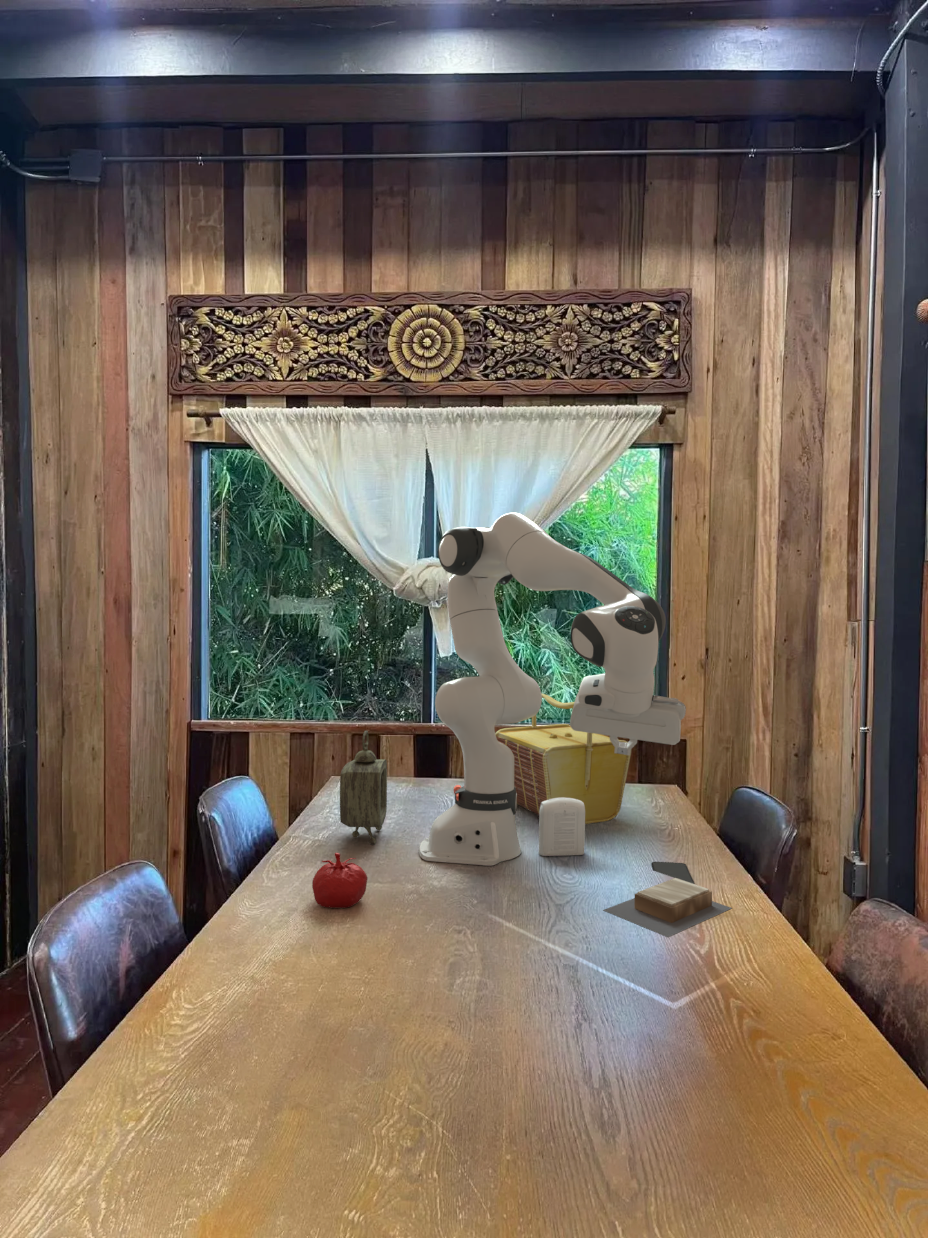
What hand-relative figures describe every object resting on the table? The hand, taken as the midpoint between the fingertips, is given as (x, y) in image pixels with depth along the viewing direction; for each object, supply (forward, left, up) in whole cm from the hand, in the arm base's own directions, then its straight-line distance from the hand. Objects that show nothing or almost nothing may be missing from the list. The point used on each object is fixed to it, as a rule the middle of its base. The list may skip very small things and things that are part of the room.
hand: (622, 752), depth 149 cm
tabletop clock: (-54, +32, -27) cm, 68 cm away
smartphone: (+12, +9, -28) cm, 32 cm away
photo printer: (-9, +22, -27) cm, 36 cm away
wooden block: (+3, -12, -25) cm, 28 cm away
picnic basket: (-6, +55, -27) cm, 62 cm away
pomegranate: (-53, -6, -27) cm, 60 cm away
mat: (+7, -9, -27) cm, 29 cm away
